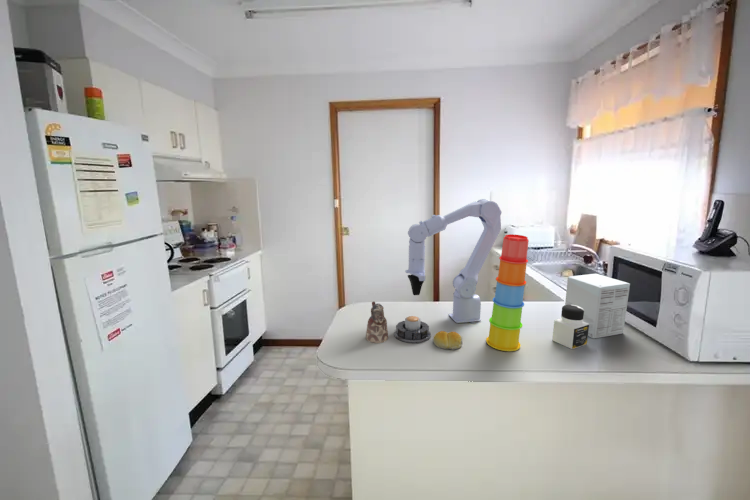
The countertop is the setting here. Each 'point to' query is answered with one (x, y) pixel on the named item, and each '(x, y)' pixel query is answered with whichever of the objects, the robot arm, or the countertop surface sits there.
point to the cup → (412, 323)
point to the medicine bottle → (571, 327)
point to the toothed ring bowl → (412, 333)
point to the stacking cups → (509, 294)
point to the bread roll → (447, 340)
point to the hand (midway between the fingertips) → (416, 294)
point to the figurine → (377, 325)
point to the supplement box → (599, 302)
